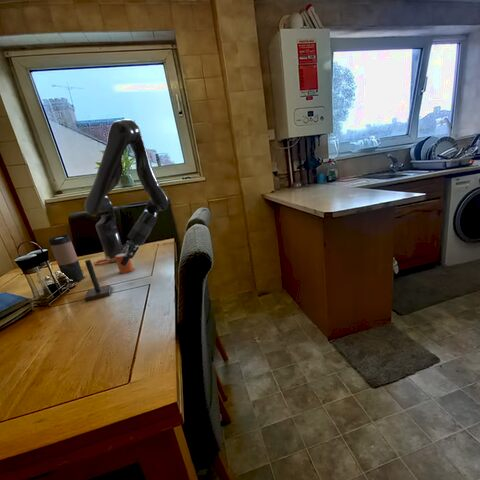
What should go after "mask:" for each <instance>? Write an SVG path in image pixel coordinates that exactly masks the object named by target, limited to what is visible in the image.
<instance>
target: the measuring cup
mask: <svg viewBox="0 0 480 480" xmlns="http://www.w3.org/2000/svg"><path fill="white" fill-rule="evenodd" d="M125 254H126V253H121V254H118V255H116V256H115V258H112V259H106V258H103V259H98V260H97V261H95V262H93V265H94V266H95V267H100V266H105V265H107V264H109V263H111V262H110V261H113V260H116V261H117V262H116V264H117V267H118V270H119V273H120V274H127V273H131V272H133V271H134V267H133V263H132V259H129V261H128V262H127V264H126V265H125V266H124V265H121V264H120V263H121V261H122V260H123V258H124V256H125Z"/></svg>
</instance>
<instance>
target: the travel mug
mask: <svg viewBox="0 0 480 480" xmlns="http://www.w3.org/2000/svg"><path fill="white" fill-rule="evenodd" d="M48 243H49V245H50V247H51V251H52V254H53V256H54V258H55V261H56V264H57V266H58V268H59V270H60V273H61V272H62V273H64V274H65V275H66V276H67V277H68V278H69V279H73V281H70V282H69V283H68V284H73V283H76V282H80V281H82V280H83V279H84V278H85V277H84V273H83V271H82V267H81V264H80V261H79V259H78V255H77V253H76V251H75V248H74V245H73V243H72V240H71V238H70V235H69V234H63V235H58V236H57V235H56V236H53V237H50V238H49V239H48ZM62 273H61V274H62Z"/></svg>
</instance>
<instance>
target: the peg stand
mask: <svg viewBox="0 0 480 480" xmlns="http://www.w3.org/2000/svg"><path fill="white" fill-rule="evenodd" d="M84 263H85V266H86V268H87V272H88V275H89V277H90V280H91V282H92V286H93V288H90V289H88V290H87V292H86V294H85V297H84V299H85V302H89V301H94V300H97V299H101V298H105V297H109V296H111V292H112V289H113V288H112V285H111V284H107V285H103V286H100V284H99V283H100V282H99V281H98V277H97V275H96V272H95V268H94V266H93V263H92V261H91V259H86V260H84Z"/></svg>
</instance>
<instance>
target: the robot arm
mask: <svg viewBox="0 0 480 480" xmlns="http://www.w3.org/2000/svg"><path fill="white" fill-rule="evenodd" d="M105 145H106V146H105V148H104V151H103V153H102V154H103V155H102V158H101V161H100V163H99V166H98V169H97V172H96V176H95V178H94V181H93V184H92V187H91V188H90V190H89V192H88V195H87V197H86V199H85V201H84V210H85V212H86V214H87V215H88V216H90V217H94V218H95V217H96V218H97V217H100V216H101V217H100V219H99V221H98V222H96V224H95V229H96V232H97V235H98V238H99V242H100V244H101V248H102V251H103V253H104V257H105V258H104V259H112V258H115V256H116V255H118V254H121V253H126V254H125V256H124V258H123V260H122V261H121V263H120V264H121V265H124V266H125V265H126V264H127V262H128V261H129V259H131V260H132V259H133V258H134V256H135V255H136V253H137V252H138V251H139V249H140V247H139V246H141V245H142V246H143V245H144V244H145V242H146V240H147V238H148V237H149V236H150V234H151V232H152V230H153V228H154V226H155V225H156V223H157V221H158V215H159V213H160V212H163V211H164V212H165V211H167V210H168V209H169V204H170V202H169V200H168V196H167V195H166V193H165V192H164V190H163V189H162V187H161V185H160V184H159V181H158V178H157V176H156V174H155V172H154V170H153V168H152V165H151V162H150V159H149V156H148V152H147V150H146V149H147V148H146V146H145V142H144V139H143V135H142V131H141V129H140V127H139V125H138V124H137V123H136V122H135V121H134V120H132V119H129V118H126V119H119V120H115V121H113V122H112V123H111V124H110V126H109V129H108V133H107V138H106V144H105ZM128 146H129V147H130V148H131V151H132V153H133V157H134V160H135V161H134V162H135V171H136V175H137V178H138V180H139V182H140V184H141V187H142V188H143V190H144V191H145V192H146V193H147V194H148V196H149V199H148V201H147V203H146V205H145V208H144V210H143V212H142V213H141V215H140V216H139V218H138V219H137V221H136V222H135V223H134V224H133V226H132V228H131V230H130V231H129V233H128V234H127V235H126V236H127V238H128V239H129V240H128V239H127V240H125V243H124V244H122V240H121V237H120V233H119V230H118V226H117V218H116V214H115V210H114V206H113V203H112V200H111V199H110V198H109V197H108V196H107V195H108V194H109V193H111V192H112V191H113V189H115V187H117V185H118V184H119V182H120V180H121V177H122V175H123V172H124V165H123V156H124V153H125V151H126V149H127V147H128ZM109 263H117V261H116V260H113V261H110V262H109Z"/></svg>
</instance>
